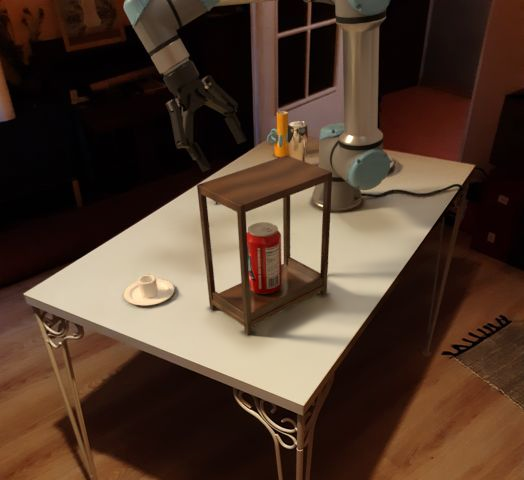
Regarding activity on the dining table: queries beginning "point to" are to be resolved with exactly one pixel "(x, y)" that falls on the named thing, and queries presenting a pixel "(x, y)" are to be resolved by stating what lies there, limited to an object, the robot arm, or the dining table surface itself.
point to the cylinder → (280, 135)
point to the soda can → (264, 258)
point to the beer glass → (297, 139)
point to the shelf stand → (293, 272)
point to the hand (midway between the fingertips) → (225, 156)
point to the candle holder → (148, 291)
